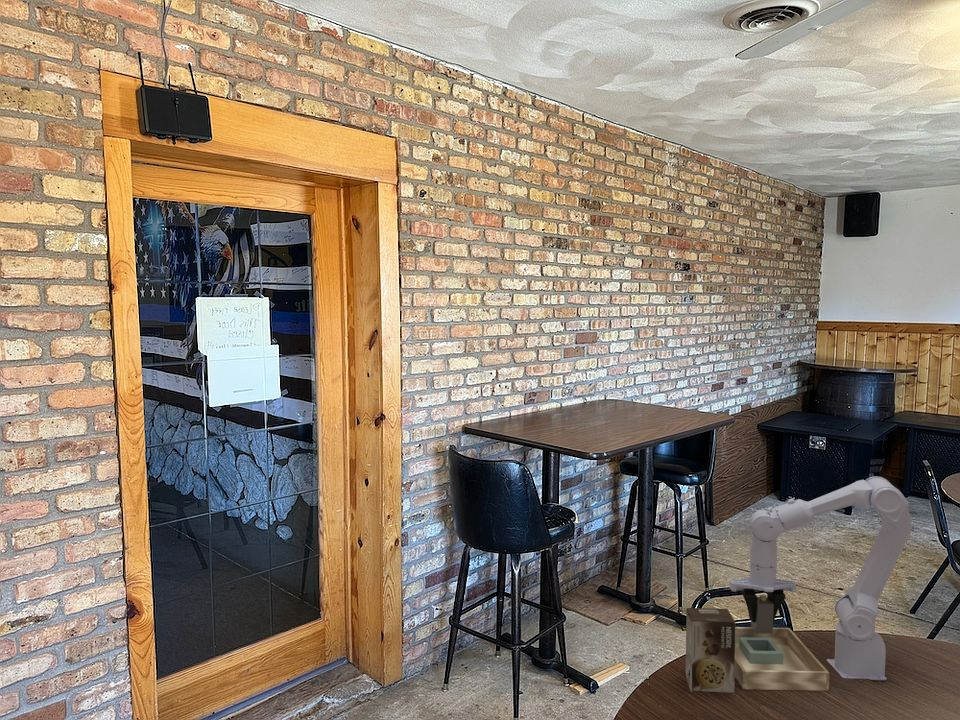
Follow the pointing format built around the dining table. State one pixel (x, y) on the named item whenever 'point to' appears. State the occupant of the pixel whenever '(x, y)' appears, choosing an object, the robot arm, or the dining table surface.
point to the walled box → (791, 675)
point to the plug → (763, 616)
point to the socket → (760, 657)
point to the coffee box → (710, 650)
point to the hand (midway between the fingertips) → (761, 620)
